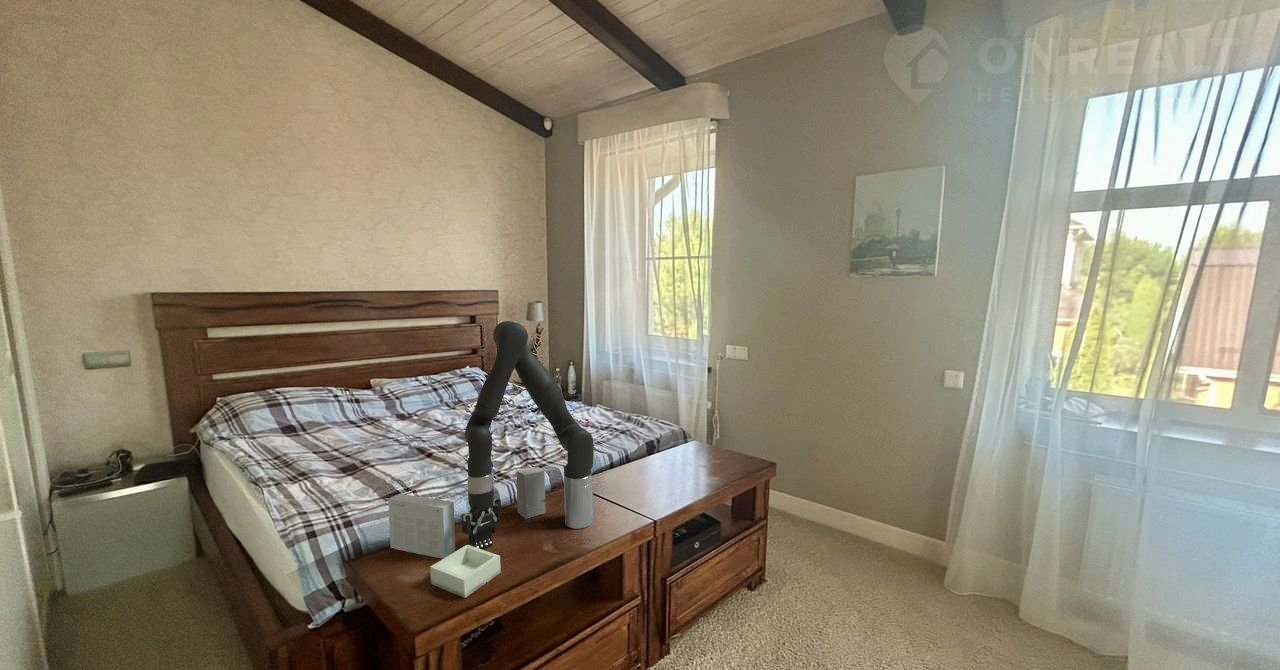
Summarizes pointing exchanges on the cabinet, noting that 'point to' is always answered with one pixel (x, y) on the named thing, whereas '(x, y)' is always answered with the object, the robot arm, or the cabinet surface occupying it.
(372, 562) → the cabinet surface
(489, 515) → the battery charger
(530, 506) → the skincare box
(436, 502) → the skincare box
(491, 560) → the bin
